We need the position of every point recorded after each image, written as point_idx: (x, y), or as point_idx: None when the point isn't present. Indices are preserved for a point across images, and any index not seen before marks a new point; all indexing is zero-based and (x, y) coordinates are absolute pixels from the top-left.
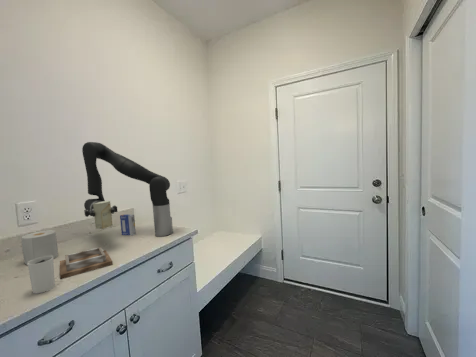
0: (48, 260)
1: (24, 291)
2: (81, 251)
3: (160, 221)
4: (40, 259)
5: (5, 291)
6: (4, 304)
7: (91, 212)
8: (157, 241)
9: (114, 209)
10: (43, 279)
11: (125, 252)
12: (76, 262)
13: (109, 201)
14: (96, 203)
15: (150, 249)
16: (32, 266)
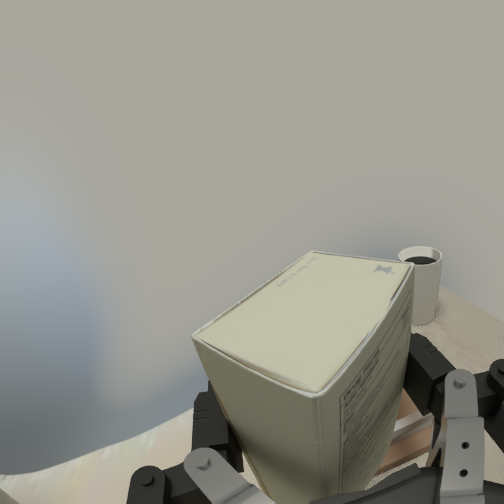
0: (399, 253)
1: (450, 311)
2: (419, 419)
3: (8, 497)
4: (434, 267)
5: (490, 315)
6: (446, 289)
7: (432, 356)
8: (103, 497)
9: (195, 402)
10: None
11: (246, 460)
12: None
13: (204, 327)
14: (364, 257)
15: (161, 437)
16: (420, 251)
